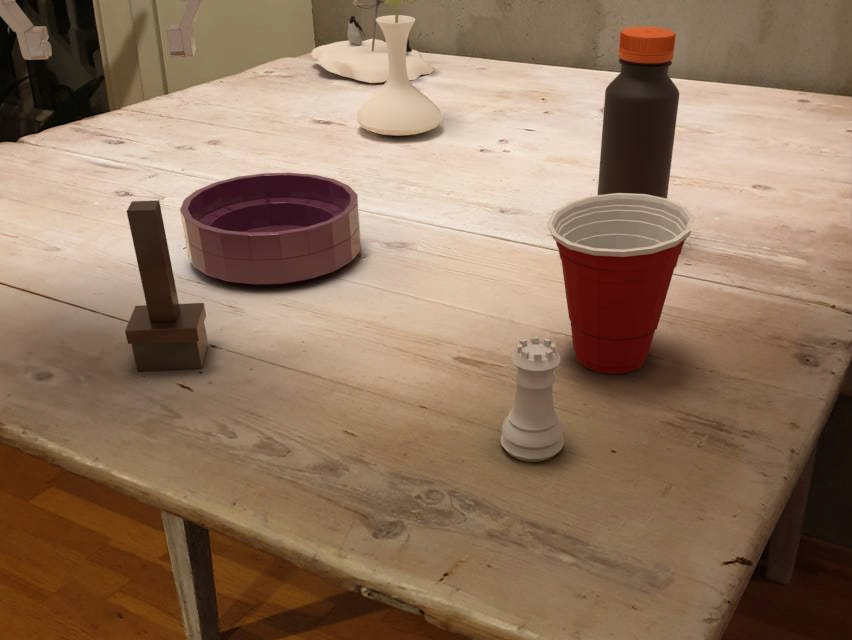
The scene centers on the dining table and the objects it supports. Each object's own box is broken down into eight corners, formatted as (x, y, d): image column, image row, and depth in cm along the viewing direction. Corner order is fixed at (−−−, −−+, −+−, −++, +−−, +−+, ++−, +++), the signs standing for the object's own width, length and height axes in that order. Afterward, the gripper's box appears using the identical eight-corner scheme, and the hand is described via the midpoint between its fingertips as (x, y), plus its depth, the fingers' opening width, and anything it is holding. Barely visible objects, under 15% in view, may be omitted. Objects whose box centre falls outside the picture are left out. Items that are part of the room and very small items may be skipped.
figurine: (285, 61, 155) (282, -51, 145) (367, 44, 167) (369, -60, 157) (373, 97, 146) (376, -21, 136) (453, 76, 157) (462, -33, 147)
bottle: (675, 243, 98) (701, 32, 86) (633, 262, 94) (655, 43, 82) (622, 225, 102) (641, 21, 90) (580, 242, 98) (594, 31, 86)
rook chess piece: (576, 450, 67) (584, 349, 63) (526, 472, 65) (530, 369, 61) (537, 421, 70) (541, 323, 66) (487, 441, 68) (488, 341, 64)
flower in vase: (410, 148, 122) (402, -75, 108) (339, 134, 127) (323, -82, 113) (465, 123, 132) (465, -86, 117) (397, 110, 136) (389, -91, 122)
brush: (134, 373, 76) (98, 218, 69) (144, 346, 79) (111, 196, 72) (204, 369, 76) (176, 215, 69) (211, 343, 80) (185, 193, 73)
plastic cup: (522, 336, 81) (526, 198, 74) (638, 318, 84) (653, 183, 77) (571, 401, 73) (581, 252, 66) (699, 379, 75) (722, 233, 69)
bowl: (178, 295, 87) (167, 238, 84) (202, 227, 101) (193, 175, 97) (361, 288, 89) (357, 231, 86) (360, 221, 102) (357, 170, 99)
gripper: (246, -193, 60) (272, 43, 68) (-98, -194, 58) (-30, 48, 66) (236, -191, 55) (265, 64, 63) (-142, -192, 53) (-63, 71, 61)
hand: (111, 56), depth 65 cm, fingers open, 8 cm apart
